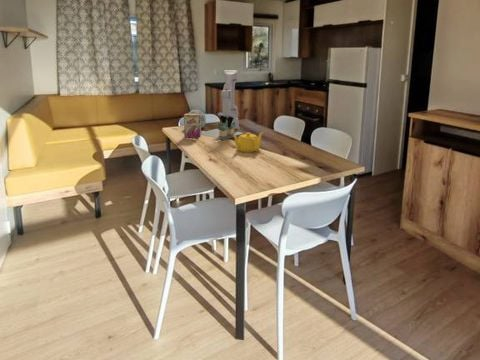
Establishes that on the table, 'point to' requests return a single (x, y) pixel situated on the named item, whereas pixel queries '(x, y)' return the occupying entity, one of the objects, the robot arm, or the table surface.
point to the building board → (216, 134)
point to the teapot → (248, 142)
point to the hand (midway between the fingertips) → (226, 127)
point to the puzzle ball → (201, 116)
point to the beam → (225, 125)
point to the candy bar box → (192, 125)
